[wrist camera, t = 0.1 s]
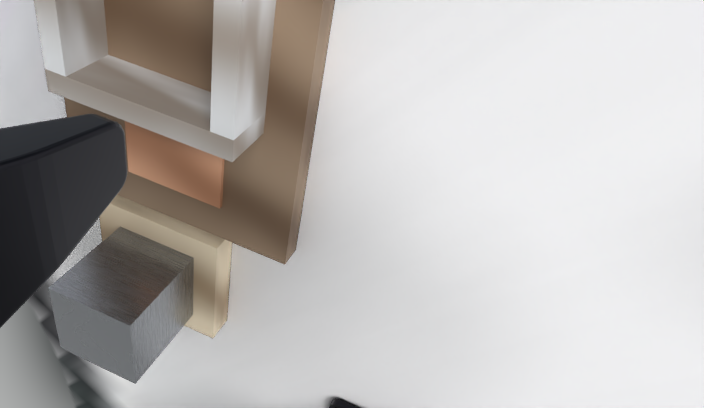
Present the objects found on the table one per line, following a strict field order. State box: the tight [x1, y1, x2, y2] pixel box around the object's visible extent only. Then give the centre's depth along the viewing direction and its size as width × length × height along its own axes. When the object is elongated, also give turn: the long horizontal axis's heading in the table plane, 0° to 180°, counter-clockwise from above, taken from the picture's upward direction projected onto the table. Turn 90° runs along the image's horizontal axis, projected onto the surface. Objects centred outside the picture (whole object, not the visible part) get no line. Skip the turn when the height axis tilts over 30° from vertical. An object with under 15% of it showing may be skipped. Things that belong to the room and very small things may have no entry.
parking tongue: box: [99, 195, 232, 338], centre depth 32 cm, size 7×7×2 cm
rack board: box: [34, 0, 335, 264], centre depth 23 cm, size 18×12×4 cm, turn 170°
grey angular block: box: [48, 226, 194, 384], centre depth 30 cm, size 4×4×5 cm
